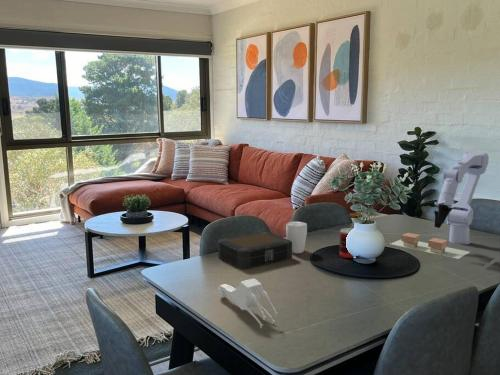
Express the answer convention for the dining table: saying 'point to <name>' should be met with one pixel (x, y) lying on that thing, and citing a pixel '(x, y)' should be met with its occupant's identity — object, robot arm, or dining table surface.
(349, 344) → the dining table surface
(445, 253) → the board
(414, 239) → the cap marked
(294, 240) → the cup
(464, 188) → the robot arm
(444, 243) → the cap plain
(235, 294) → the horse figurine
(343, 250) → the canned food
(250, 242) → the cash box
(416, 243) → the marked block
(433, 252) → the plain block
